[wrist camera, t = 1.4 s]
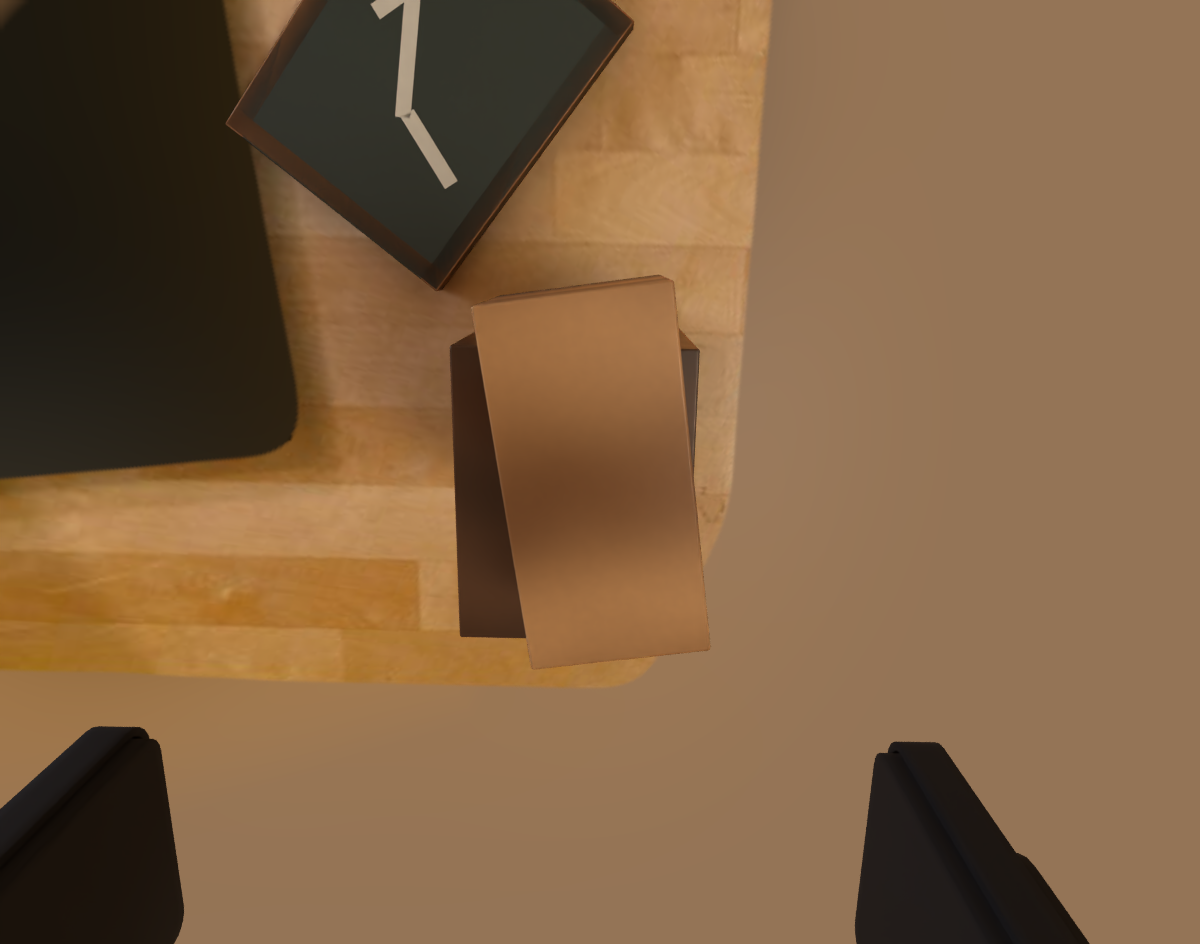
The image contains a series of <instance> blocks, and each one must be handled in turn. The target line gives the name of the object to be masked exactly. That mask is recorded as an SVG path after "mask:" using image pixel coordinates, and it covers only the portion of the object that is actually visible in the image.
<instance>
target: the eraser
mask: <svg viewBox="0 0 1200 944" xmlns="http://www.w3.org/2000/svg"><path fill="white" fill-rule="evenodd" d="M471 312H472V318H473V324H474V330H475V336H476V341H477V347H478V353H479V359H480V365H481V371H482V377H483V383H484V389H485V395H486V401H487V407H488V413H489V419H490V425H491V431H492V437H493V443H494V449H495V455H496V461H497V467H498V473H499V479H500V485H501V490H502V496H503V502H504V508H505V514H506V520H507V526H508V532H509V538H510V544H511V550H512V556H513V562H514V568H515V574H516V580H517V586H518V592H519V598H520V604H521V610H522V616H523V622H524V628H525V634H526V639H527V645H528V651H529V657H530V663H531V667H532V669H542V668H551V667H561V666H570V665H579V664H588V663H597V662H607V661H616V660H625V659H634V658H644V657H653V656H662V655H671V654H680V653H690V652H699V651H708V650H710V647H711V646H710V637H709V627H708V616H707V606H706V596H705V587H704V576H703V566H702V557H701V547H700V537H699V527H698V517H697V507H696V497H695V487H694V477H693V467H692V457H691V447H690V437H689V427H688V417H687V407H686V397H685V387H684V377H683V367H682V357H681V347H680V337H679V327H678V317H677V307H676V297H675V287H674V282H673V280H670V279H668V278H666V277H663V276H661V275H653V276H645V277H638V278H630V279H623V280H615V281H607V282H600V283H592V284H584V285H577V286H569V287H561V288H554V289H546V290H539V291H531V292H523V293H516V294H508V295H500V296H498V297H495V298H492V299H490V300H487V301H484V302H482V303H479V304H476V305H474V306H472V308H471Z"/></svg>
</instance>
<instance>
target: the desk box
mask: <svg viewBox="0 0 1200 944" xmlns="http://www.w3.org/2000/svg"><path fill="white" fill-rule="evenodd" d="M679 337H680V347H681V357H682V367H683V377H684V387H685V397H686V407H687V417H688V427H689V437H690V447H691V457H692V467H693V477H694V457H695V436H696V416H697V395H698V374H699V353H700V351H699V349H698V348H697V347H696V346H695V345H694V344H693V343H692V342H691V341H690V340H689V338H688V337H687V336H686V335H685V334H684V333H683V332H682V331H681V330H680V329H679ZM450 368H451V396H452V424H453V452H454V480H455V509H456V537H457V565H458V593H459V621H460V636H461V637H493V638H526V634H525V628H524V622H523V616H522V610H521V604H520V598H519V592H518V586H517V580H516V574H515V568H514V562H513V556H512V550H511V544H510V538H509V532H508V526H507V520H506V514H505V508H504V502H503V496H502V490H501V485H500V479H499V473H498V467H497V461H496V455H495V449H494V443H493V437H492V431H491V425H490V419H489V413H488V407H487V401H486V395H485V389H484V383H483V377H482V371H481V365H480V359H479V353H478V347H477V341H476V336H475V332H474V333H472V334H470V335H468V336H467V337H465V338H463V339H461V340H460V341H458V342H456V343H454V344H452V345H451V346H450Z"/></svg>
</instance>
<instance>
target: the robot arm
mask: <svg viewBox="0 0 1200 944" xmlns="http://www.w3.org/2000/svg"><path fill="white" fill-rule="evenodd" d="M162 761H163V760H162V754H161V748H160V745H159V743H158V742H157V741H156V740H154V739H149V736H148V734H147V732H146V731H145V729H142V728H140V727H102V726H101V727H100V726H99V727H93V728H91V729H90V730H88V731H87V732H85V733H84V734H83V735H82V736H81V737H80V738H79V739H78V740H76V741H75V742H74V743H73V744H72V745H71V746H70V747H69V748H68V749H66V750H65V751H64V752H63V753H62V754H61V755H60V756H59V757H58V758H56V760H54V761H53V762H52V763H51V764H50V765H49V766H48V767H47V768H45V769H44V770H43V771H42V772H41V773H40V774H39V775H38V776H37V777H36V778H34V779H33V780H32V781H31V782H30V783H29V784H28V785H27V786H25V787H24V788H23V789H22V790H21V791H20V792H19V793H18V794H17V795H15V796H14V797H13V798H12V799H11V800H10V801H9V802H8V803H7V804H6V805H4V806H3V807H2V808H1V809H0V944H174V943H175V941H176V939H177V937H178V935H179V932H180V929H181V926H182V922H183V916H184V904H183V897H182V890H181V883H180V877H179V870H178V863H177V856H176V850H175V842H174V836H173V829H172V823H171V816H170V808H169V802H168V795H167V788H166V781H165V774H164V767H163V762H162ZM855 935H856V942H857V944H1089V942H1088V941H1087V939H1086V938H1085V937H1084V935H1083V934H1082V932H1081V931H1080V929H1079V928H1078V927H1077V925H1076V924H1075V922H1074V921H1073V919H1072V918H1071V917H1070V915H1069V914H1068V912H1067V911H1066V910H1065V908H1064V907H1063V905H1062V904H1061V902H1060V901H1059V900H1058V898H1057V897H1056V895H1055V894H1054V893H1053V891H1052V890H1051V888H1050V887H1049V886H1048V884H1047V883H1046V881H1045V880H1044V879H1043V877H1042V876H1041V874H1040V873H1039V871H1038V870H1037V869H1036V867H1035V866H1034V865H1033V864H1032V863H1031V862H1030V861H1029V859H1028V858H1027V857H1025V856H1023V855H1021V854H1019V853H1016V852H1015V851H1014V849H1013V848H1012V846H1011V845H1010V844H1009V842H1008V841H1007V839H1006V838H1005V836H1004V835H1003V833H1002V832H1001V830H1000V829H999V827H998V826H997V825H996V823H995V822H994V820H993V819H992V817H991V816H990V814H989V813H988V812H987V810H986V809H985V807H984V806H983V804H982V803H981V801H980V800H979V798H978V797H977V796H976V794H975V793H974V791H973V790H972V789H971V787H970V786H969V784H968V783H967V781H966V780H965V778H964V777H963V775H962V774H961V773H960V771H959V770H958V768H957V767H956V765H955V764H954V762H953V761H952V759H951V758H950V757H949V755H948V754H947V752H946V751H945V749H944V748H943V747H942V746H941V745H940V744H939V743H935V742H893V743H891V745H890V747H889V749H888V753H879V754H877V756H876V758H875V762H874V769H873V777H872V785H871V793H870V802H869V810H868V819H867V827H866V836H865V844H864V852H863V860H862V868H861V877H860V885H859V893H858V901H857V910H856V919H855Z"/></svg>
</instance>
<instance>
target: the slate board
mask: <svg viewBox="0 0 1200 944" xmlns="http://www.w3.org/2000/svg"><path fill="white" fill-rule="evenodd" d="M633 26H634V21H633V20H632V19H631V18H630V17H629V16H628V15H627V14H626V13H625V12H623V11H622V10H621V9H620V8H619V7H618V6H617V5H616V4H615V3H613V2H612V1H611V0H302V1H301V3H300V5H299V6H298V8H297V9H296V11H295V13H294V14H293V16H292V17H291V19H290V21H289V22H288V24H287V26H286V27H285V29H284V30H283V32H282V34H281V35H280V37H279V38H278V40H277V42H276V43H275V45H274V46H273V48H272V50H271V51H270V53H269V54H268V56H267V58H266V59H265V61H264V62H263V64H262V66H261V67H260V69H259V70H258V72H257V74H256V75H255V77H254V79H253V80H252V82H251V83H250V85H249V87H248V88H247V90H246V91H245V93H244V95H243V96H242V98H241V99H240V101H239V103H238V104H237V106H236V107H235V109H234V111H233V112H232V114H231V115H230V117H229V119H228V120H227V122H226V125H227V126H229V127H230V128H231V129H232V130H234V131H235V132H236V133H238V134H239V135H240V136H241V137H243V138H244V139H245V140H246V141H248V142H249V143H250V144H251V145H253V146H254V147H255V148H256V149H258V150H259V151H260V152H262V153H263V154H264V155H265V156H267V157H268V158H269V159H270V160H272V161H273V162H274V163H275V164H277V165H278V166H279V167H280V168H282V169H283V170H284V171H285V172H287V173H288V174H289V175H291V176H292V177H293V178H294V179H296V180H297V181H298V182H299V183H301V184H302V185H303V186H304V187H306V188H307V189H308V190H309V191H311V192H312V193H313V194H314V195H316V196H317V197H318V198H320V199H321V200H322V201H323V202H325V203H326V204H327V205H328V206H330V207H331V208H332V209H333V210H335V211H336V212H337V213H338V214H340V215H341V216H342V217H343V218H345V219H346V220H347V221H349V222H350V223H351V224H352V225H354V226H355V227H356V228H357V229H359V230H360V231H361V232H362V233H364V234H365V235H366V236H367V237H369V238H370V239H371V240H372V241H374V242H375V243H376V244H378V245H379V246H380V247H381V248H383V249H384V250H385V251H386V252H388V253H389V254H390V255H391V256H393V257H394V258H395V259H396V260H398V261H399V262H400V263H401V264H403V265H404V266H405V267H407V268H408V269H409V270H410V271H412V272H413V273H414V274H415V275H417V276H418V277H419V278H420V279H422V280H423V281H424V282H425V283H427V284H428V285H429V286H430V287H432V288H433V289H434V290H435V291H440V290H443V288H444V287H445V285H446V284H447V283H448V281H449V280H450V279H451V277H452V276H453V274H454V273H455V272H456V270H457V269H458V268H459V266H460V265H461V264H462V262H463V261H464V259H465V258H466V257H467V255H468V254H469V253H470V251H471V250H472V249H473V247H474V246H475V244H476V243H477V242H478V240H479V239H480V238H481V236H482V235H483V234H484V232H485V231H486V229H487V228H488V227H489V225H490V224H491V223H492V221H493V220H494V219H495V217H496V216H497V214H498V213H499V212H500V210H501V209H502V208H503V206H504V205H505V203H506V202H507V201H508V199H509V198H510V197H511V195H512V194H513V193H514V191H515V190H516V188H517V187H518V186H519V184H520V183H521V182H522V180H523V179H524V178H525V176H526V175H527V173H528V172H529V171H530V169H531V168H532V167H533V165H534V164H535V163H536V161H537V160H538V158H539V157H540V156H541V154H542V153H543V152H544V150H545V149H546V147H547V146H548V145H549V143H550V142H551V141H552V139H553V138H554V137H555V135H556V134H557V132H558V131H559V130H560V128H561V127H562V126H563V124H564V123H565V122H566V120H567V119H568V117H569V116H570V115H571V113H572V112H573V111H574V109H575V108H576V107H577V105H578V104H579V102H580V101H581V100H582V98H583V97H584V96H585V94H586V93H587V91H588V90H589V89H590V87H591V86H592V85H593V83H594V82H595V81H596V79H597V78H598V76H599V75H600V74H601V72H602V71H603V70H604V68H605V67H606V66H607V64H608V63H609V61H610V60H611V59H612V57H613V56H614V55H615V53H616V52H617V51H618V49H619V48H620V46H621V45H622V44H623V42H624V41H625V40H626V38H627V37H628V35H629V34H630V33H631V31H632V30H633Z"/></svg>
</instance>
